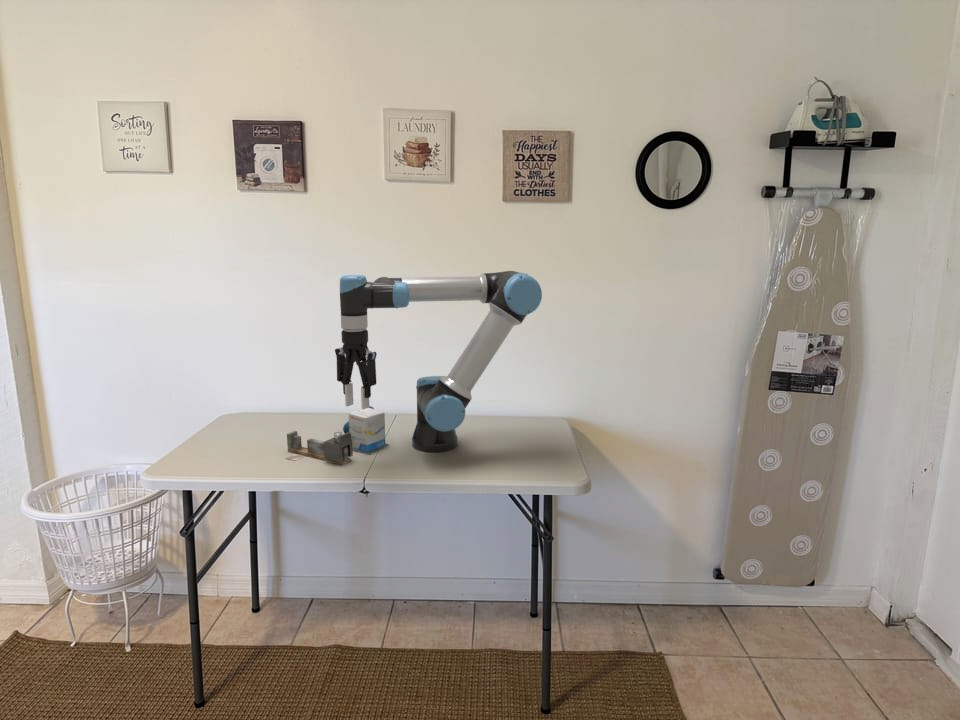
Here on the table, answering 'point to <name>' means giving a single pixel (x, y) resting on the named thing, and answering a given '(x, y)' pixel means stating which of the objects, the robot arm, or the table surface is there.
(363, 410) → the ink box
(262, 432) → the table surface
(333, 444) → the clip
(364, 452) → the mat
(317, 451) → the vise
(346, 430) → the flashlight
